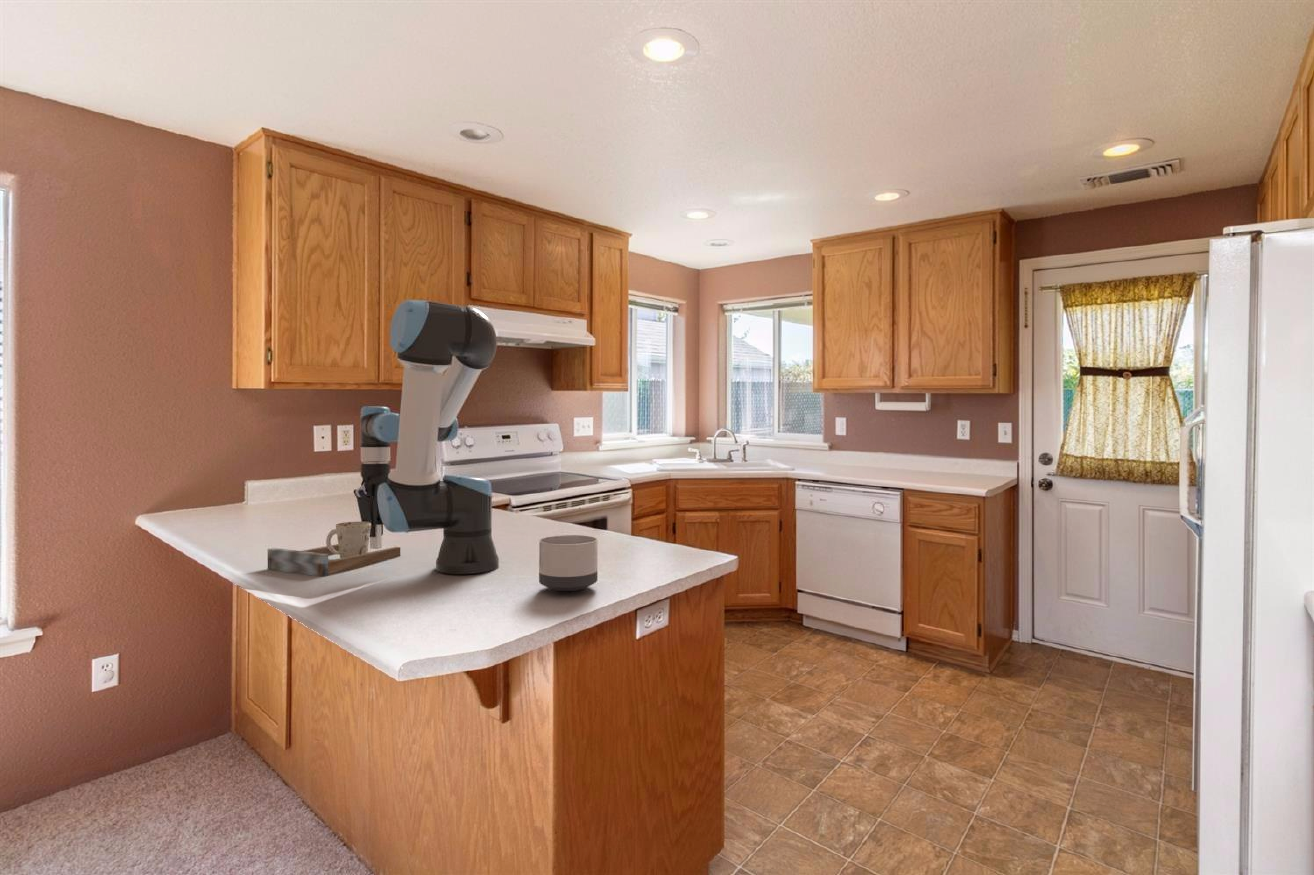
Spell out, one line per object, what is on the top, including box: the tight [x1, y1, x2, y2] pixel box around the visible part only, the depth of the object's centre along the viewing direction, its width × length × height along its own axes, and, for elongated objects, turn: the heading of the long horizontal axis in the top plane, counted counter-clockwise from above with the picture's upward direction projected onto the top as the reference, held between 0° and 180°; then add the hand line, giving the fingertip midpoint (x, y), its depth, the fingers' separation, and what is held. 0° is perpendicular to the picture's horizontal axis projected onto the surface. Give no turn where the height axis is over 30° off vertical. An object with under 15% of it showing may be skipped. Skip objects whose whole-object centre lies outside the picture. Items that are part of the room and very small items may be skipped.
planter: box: [538, 534, 599, 592], centre depth 146 cm, size 13×13×10 cm
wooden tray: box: [267, 543, 401, 577], centre depth 170 cm, size 19×24×5 cm
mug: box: [325, 521, 371, 559], centre depth 173 cm, size 8×13×10 cm, turn 78°
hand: (375, 548), depth 182 cm, fingers closed
